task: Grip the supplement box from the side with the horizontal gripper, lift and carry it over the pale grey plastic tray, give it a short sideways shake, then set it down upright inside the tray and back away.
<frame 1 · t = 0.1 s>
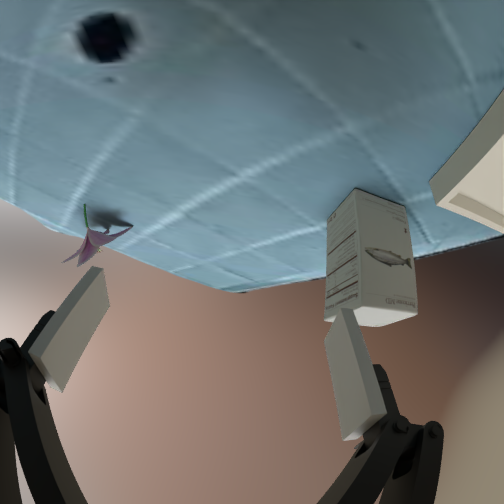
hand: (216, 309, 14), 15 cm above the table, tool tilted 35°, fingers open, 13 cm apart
supplement box: (364, 210, 30), on the table
lily: (103, 216, 38), on the table
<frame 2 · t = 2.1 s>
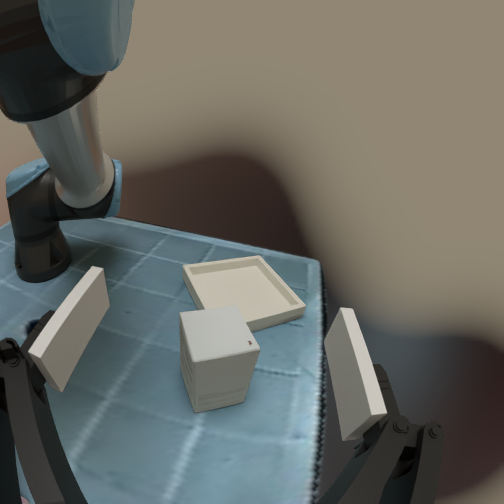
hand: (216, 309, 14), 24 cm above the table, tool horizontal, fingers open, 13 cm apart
supplement box: (210, 388, 35), on the table
tray: (239, 297, 53), on the table
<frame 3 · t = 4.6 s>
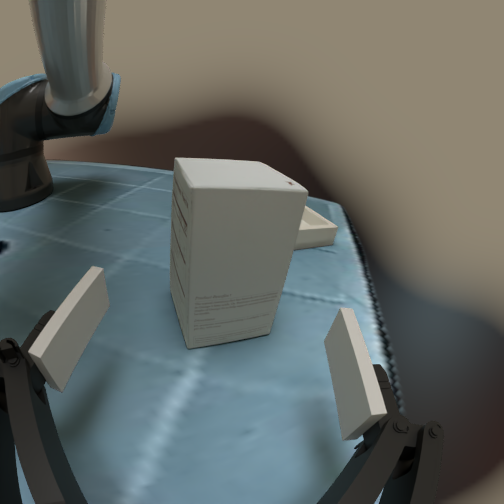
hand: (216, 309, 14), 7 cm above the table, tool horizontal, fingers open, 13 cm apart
supplement box: (215, 314, 24), on the table
tray: (252, 221, 42), on the table
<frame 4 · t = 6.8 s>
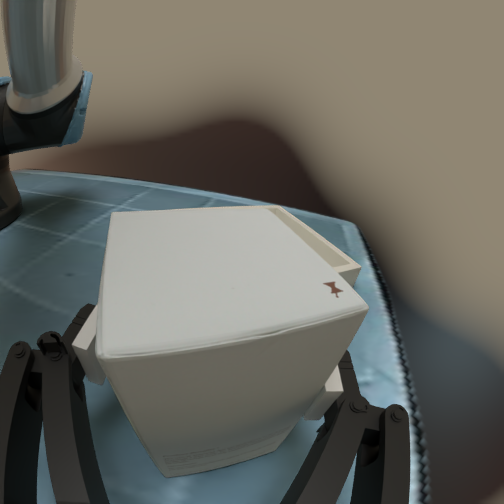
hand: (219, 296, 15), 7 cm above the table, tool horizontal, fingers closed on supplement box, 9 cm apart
supplement box: (202, 421, 15), on the table, touching gripper
tray: (253, 257, 33), on the table
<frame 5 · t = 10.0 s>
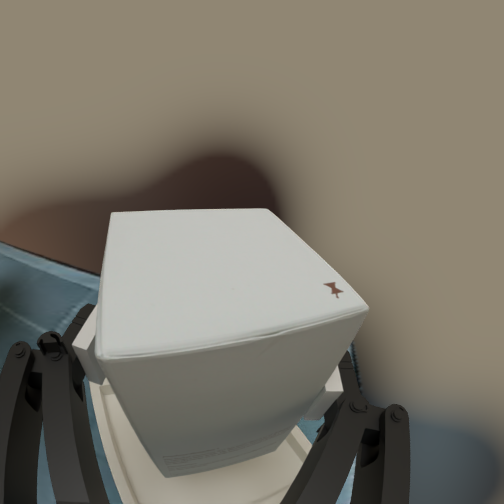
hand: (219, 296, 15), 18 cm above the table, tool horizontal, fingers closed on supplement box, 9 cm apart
supplement box: (202, 421, 15), point 11 cm above the table, touching gripper
tray: (199, 447, 21), on the table
when the fingers open (9 cm above the table, at t = 13.2 s): supplement box drops 1 cm, resting on tray.
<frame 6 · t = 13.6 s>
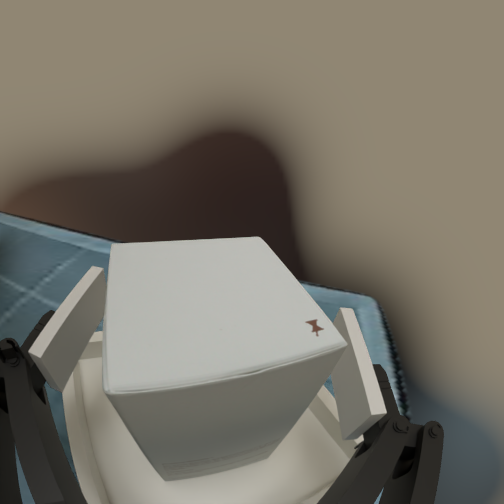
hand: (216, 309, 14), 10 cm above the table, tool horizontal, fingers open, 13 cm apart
supplement box: (200, 429, 15), point 1 cm above the table, touching tray
tray: (201, 432, 16), on the table
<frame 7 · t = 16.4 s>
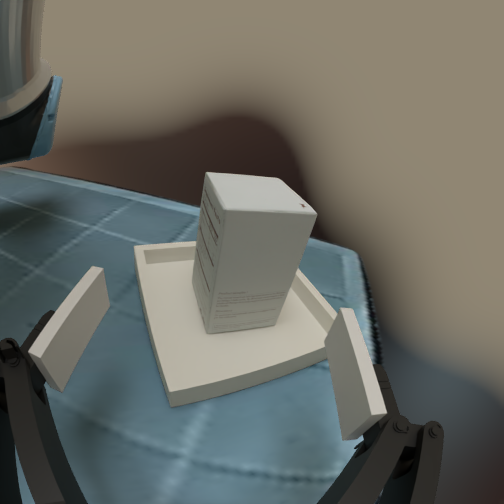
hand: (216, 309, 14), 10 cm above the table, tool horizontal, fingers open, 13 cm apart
supplement box: (230, 305, 28), point 1 cm above the table, touching tray
tray: (230, 310, 28), on the table
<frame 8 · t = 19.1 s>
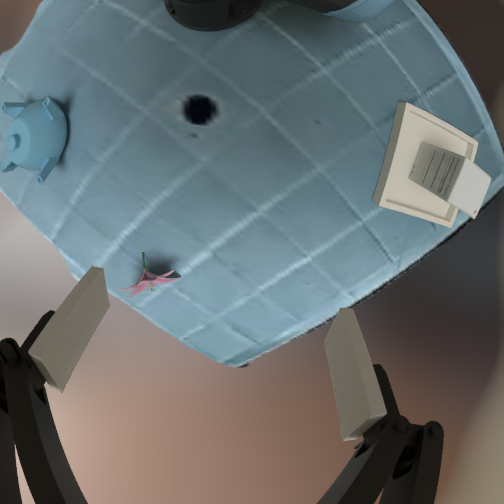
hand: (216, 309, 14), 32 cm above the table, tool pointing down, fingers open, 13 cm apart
teapot: (48, 131, 37), on the table
supplement box: (427, 167, 38), point 1 cm above the table, touching tray
tray: (426, 166, 39), on the table
lily: (156, 268, 51), on the table
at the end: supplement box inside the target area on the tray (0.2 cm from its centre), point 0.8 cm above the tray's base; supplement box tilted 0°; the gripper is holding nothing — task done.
